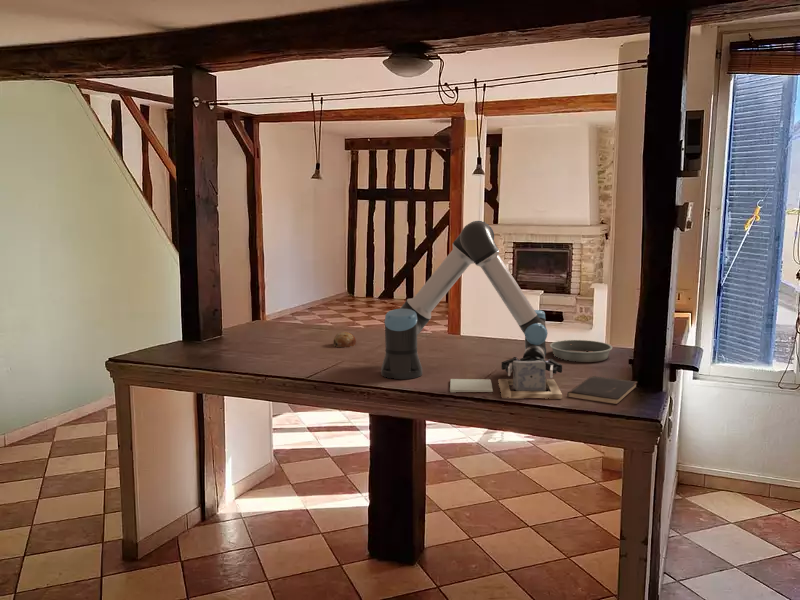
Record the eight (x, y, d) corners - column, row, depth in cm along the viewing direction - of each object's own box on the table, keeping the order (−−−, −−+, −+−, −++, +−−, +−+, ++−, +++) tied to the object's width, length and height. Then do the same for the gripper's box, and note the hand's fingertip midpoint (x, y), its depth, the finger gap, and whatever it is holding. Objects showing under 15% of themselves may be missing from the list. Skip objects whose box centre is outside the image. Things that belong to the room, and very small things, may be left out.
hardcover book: (637, 388, 222) (637, 381, 222) (617, 406, 203) (617, 398, 203) (590, 382, 231) (590, 375, 231) (567, 398, 212) (567, 391, 212)
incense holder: (540, 387, 223) (541, 357, 222) (546, 394, 215) (547, 363, 214) (511, 387, 223) (512, 357, 222) (516, 394, 215) (516, 363, 213)
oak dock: (501, 398, 211) (501, 393, 211) (498, 383, 229) (498, 378, 229) (562, 398, 209) (562, 394, 209) (554, 383, 227) (554, 379, 227)
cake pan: (614, 352, 275) (614, 341, 274) (609, 365, 252) (609, 354, 252) (554, 348, 284) (554, 337, 283) (544, 360, 261) (544, 349, 261)
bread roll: (332, 352, 297) (325, 338, 293) (348, 340, 303) (341, 325, 299) (346, 356, 290) (340, 341, 286) (362, 343, 296) (356, 328, 292)
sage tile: (450, 392, 218) (450, 390, 218) (450, 381, 232) (450, 379, 232) (492, 392, 217) (492, 390, 217) (490, 381, 231) (490, 379, 231)
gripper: (569, 370, 235) (568, 386, 214) (498, 366, 241) (491, 381, 221) (569, 349, 234) (569, 363, 213) (498, 346, 240) (492, 360, 220)
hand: (530, 372), depth 217 cm, fingers open, 13 cm apart
